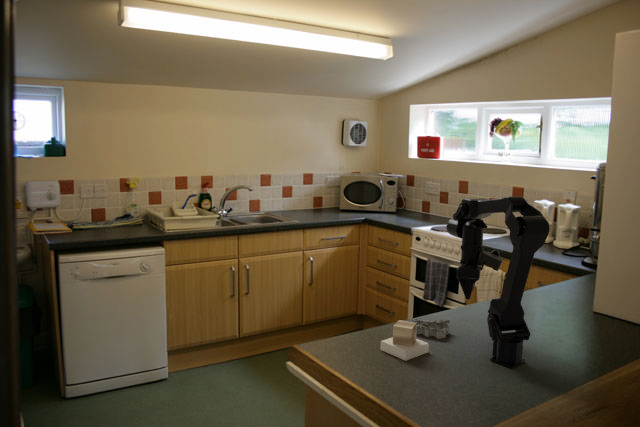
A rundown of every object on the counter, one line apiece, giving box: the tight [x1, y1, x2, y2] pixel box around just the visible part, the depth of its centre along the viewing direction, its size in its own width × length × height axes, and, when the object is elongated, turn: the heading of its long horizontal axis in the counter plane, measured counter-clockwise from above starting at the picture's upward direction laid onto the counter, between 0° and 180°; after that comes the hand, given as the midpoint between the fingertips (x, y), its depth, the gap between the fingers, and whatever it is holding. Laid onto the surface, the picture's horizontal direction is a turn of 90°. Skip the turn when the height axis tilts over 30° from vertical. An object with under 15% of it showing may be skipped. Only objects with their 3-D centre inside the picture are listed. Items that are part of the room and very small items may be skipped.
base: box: [380, 336, 429, 361], centre depth 144 cm, size 9×9×2 cm
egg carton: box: [411, 318, 451, 340], centre depth 158 cm, size 11×8×4 cm
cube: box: [392, 319, 418, 347], centre depth 143 cm, size 5×5×5 cm
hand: (469, 294), depth 155 cm, fingers open, 9 cm apart
